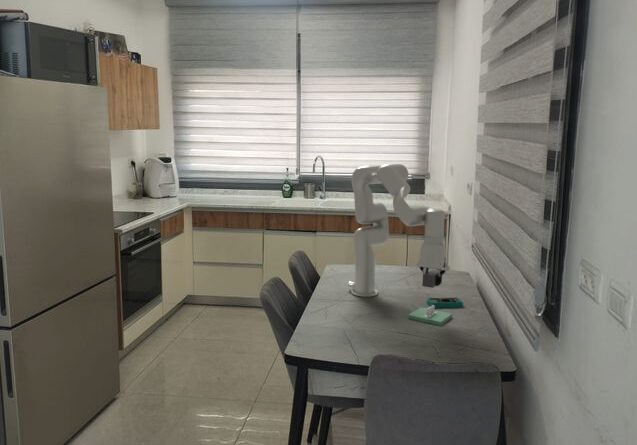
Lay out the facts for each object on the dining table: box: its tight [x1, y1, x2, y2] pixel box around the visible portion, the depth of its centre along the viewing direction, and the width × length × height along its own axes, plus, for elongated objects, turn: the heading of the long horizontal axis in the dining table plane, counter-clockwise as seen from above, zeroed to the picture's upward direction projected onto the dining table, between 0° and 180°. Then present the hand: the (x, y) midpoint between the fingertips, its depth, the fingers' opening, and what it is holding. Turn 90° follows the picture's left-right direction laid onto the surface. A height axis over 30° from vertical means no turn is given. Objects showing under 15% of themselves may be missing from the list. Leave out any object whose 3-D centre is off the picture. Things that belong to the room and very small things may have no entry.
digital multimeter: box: [426, 297, 464, 309], centre depth 241 cm, size 7×15×3 cm, turn 96°
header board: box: [407, 305, 453, 326], centre depth 224 cm, size 14×12×4 cm
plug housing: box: [421, 269, 443, 289], centre depth 221 cm, size 4×9×5 cm, turn 145°
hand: (432, 283), depth 222 cm, fingers closed on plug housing, 4 cm apart
